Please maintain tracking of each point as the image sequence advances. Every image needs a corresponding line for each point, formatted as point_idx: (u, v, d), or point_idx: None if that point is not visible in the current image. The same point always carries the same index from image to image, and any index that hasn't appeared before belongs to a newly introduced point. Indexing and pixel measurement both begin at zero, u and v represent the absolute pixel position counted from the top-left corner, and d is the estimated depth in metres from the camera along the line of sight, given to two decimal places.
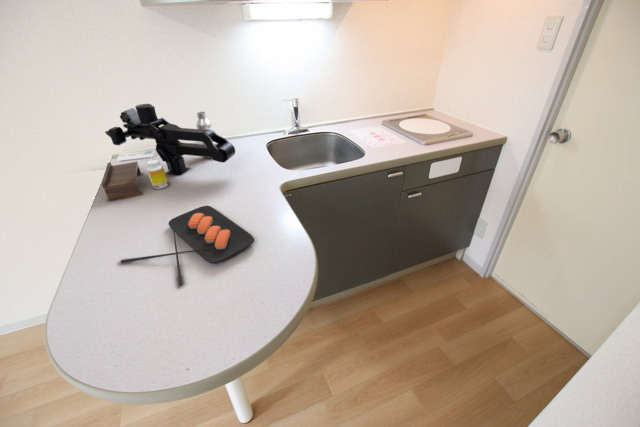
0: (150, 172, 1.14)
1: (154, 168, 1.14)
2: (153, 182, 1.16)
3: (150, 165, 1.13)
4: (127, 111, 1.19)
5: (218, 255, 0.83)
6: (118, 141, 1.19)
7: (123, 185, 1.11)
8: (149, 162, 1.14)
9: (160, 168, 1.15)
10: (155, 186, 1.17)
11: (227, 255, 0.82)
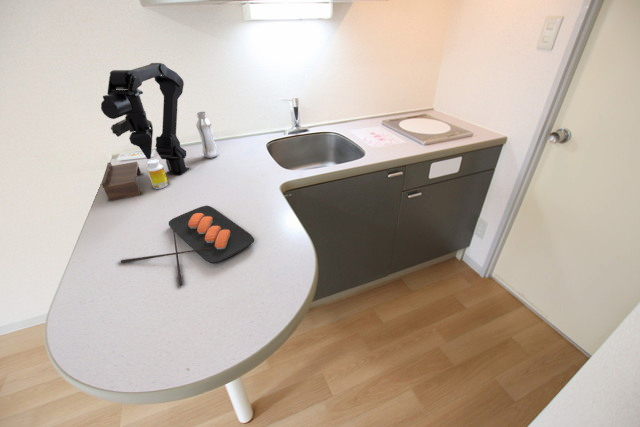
0: (150, 172, 1.14)
1: (154, 168, 1.14)
2: (153, 182, 1.16)
3: (150, 165, 1.13)
4: (112, 127, 1.03)
5: (218, 255, 0.83)
6: (143, 134, 1.01)
7: (123, 185, 1.11)
8: (149, 162, 1.14)
9: (160, 168, 1.15)
10: (155, 186, 1.17)
11: (227, 255, 0.82)
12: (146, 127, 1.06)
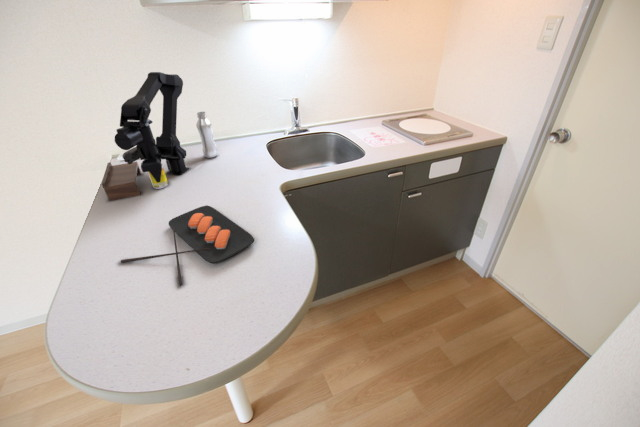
0: None
1: None
2: (153, 182, 1.16)
3: None
4: (123, 156, 1.08)
5: (218, 255, 0.83)
6: (154, 162, 1.07)
7: (123, 185, 1.11)
8: None
9: None
10: (155, 186, 1.17)
11: (227, 255, 0.82)
12: (156, 154, 1.12)
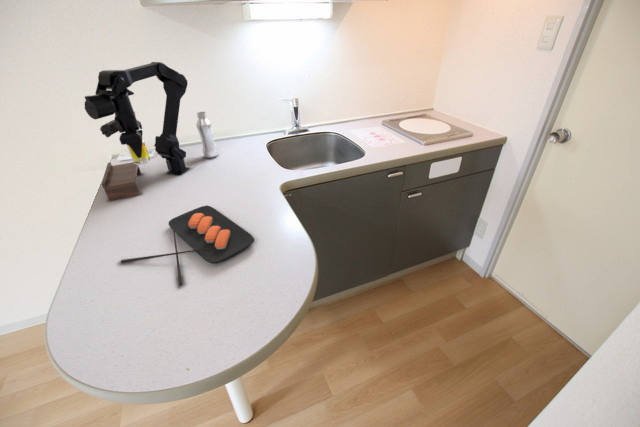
0: None
1: None
2: (134, 157, 1.11)
3: None
4: (101, 128, 1.03)
5: (218, 255, 0.83)
6: (134, 134, 1.01)
7: (123, 185, 1.11)
8: None
9: None
10: (136, 162, 1.12)
11: (227, 255, 0.82)
12: (136, 127, 1.06)
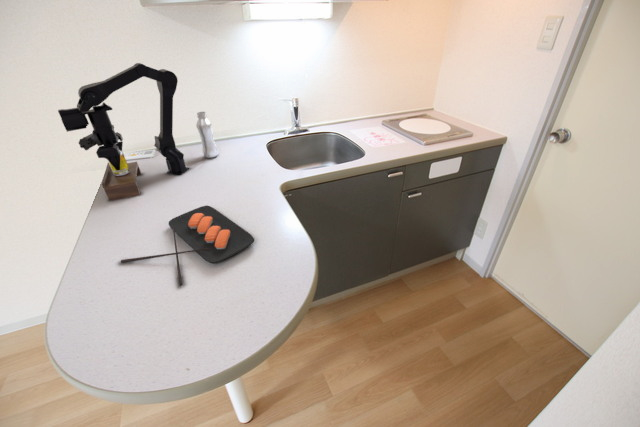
0: None
1: None
2: (113, 169, 1.14)
3: None
4: (79, 142, 1.06)
5: (218, 255, 0.83)
6: (110, 148, 1.04)
7: (123, 185, 1.11)
8: None
9: (120, 154, 1.13)
10: (115, 173, 1.15)
11: (227, 255, 0.82)
12: (114, 141, 1.09)
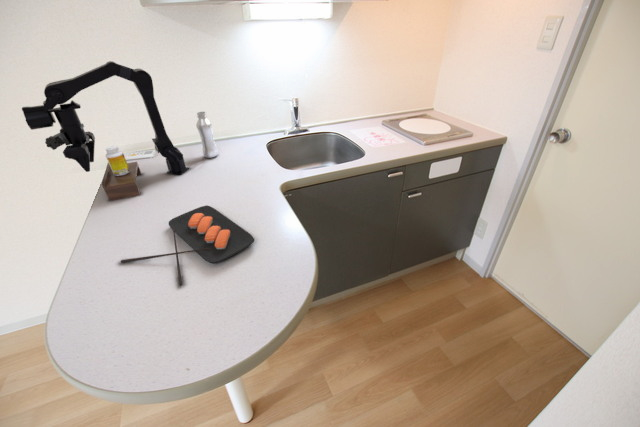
0: (109, 158, 1.11)
1: (113, 154, 1.11)
2: (113, 169, 1.14)
3: (109, 151, 1.11)
4: None
5: (218, 255, 0.83)
6: (78, 147, 1.00)
7: (123, 185, 1.11)
8: (108, 148, 1.11)
9: (120, 154, 1.13)
10: (115, 173, 1.15)
11: (227, 255, 0.82)
12: (83, 140, 1.05)
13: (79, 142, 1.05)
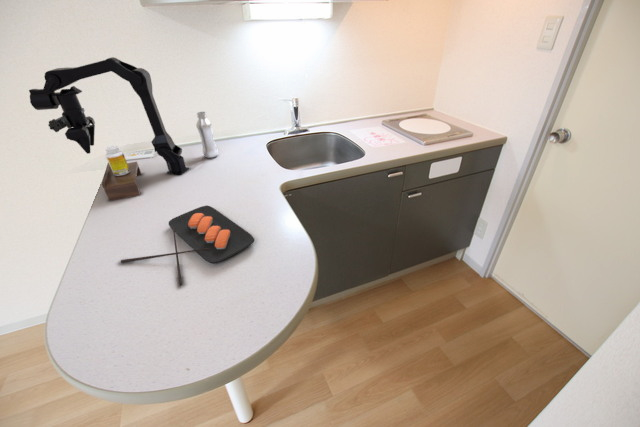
0: (109, 158, 1.11)
1: (113, 154, 1.11)
2: (113, 169, 1.14)
3: (109, 151, 1.11)
4: None
5: (218, 255, 0.83)
6: (79, 129, 1.07)
7: (123, 185, 1.11)
8: (108, 148, 1.11)
9: (120, 154, 1.13)
10: (115, 173, 1.15)
11: (227, 255, 0.82)
12: (84, 123, 1.12)
13: (80, 125, 1.12)
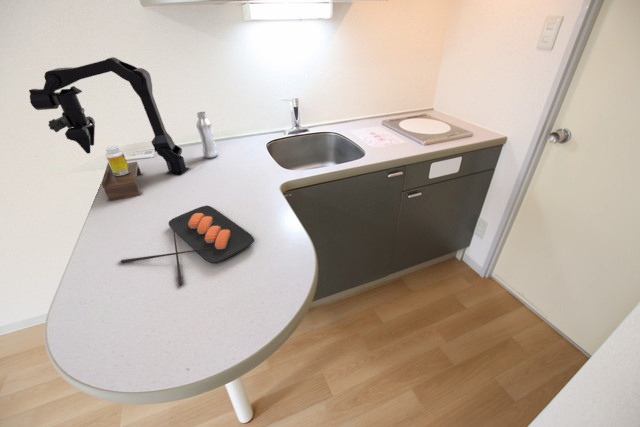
0: (109, 158, 1.11)
1: (113, 154, 1.11)
2: (113, 169, 1.14)
3: (109, 151, 1.11)
4: None
5: (218, 255, 0.83)
6: (79, 129, 1.07)
7: (123, 185, 1.11)
8: (108, 148, 1.11)
9: (120, 154, 1.13)
10: (115, 173, 1.15)
11: (227, 255, 0.82)
12: (84, 123, 1.12)
13: (80, 125, 1.12)
